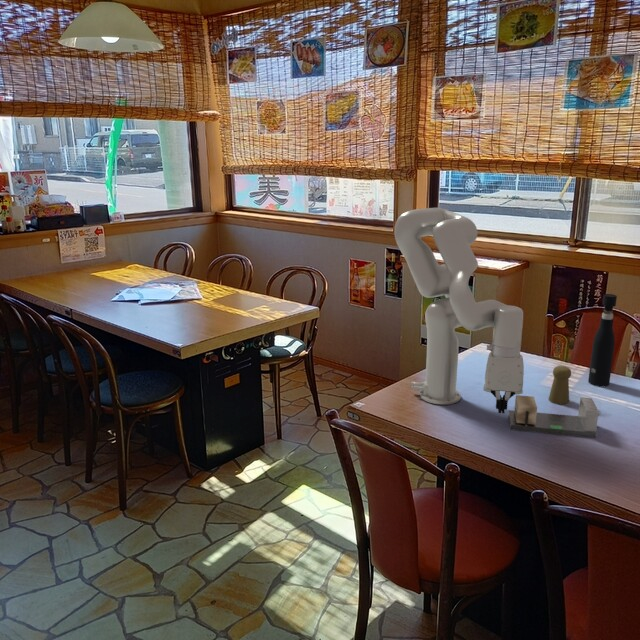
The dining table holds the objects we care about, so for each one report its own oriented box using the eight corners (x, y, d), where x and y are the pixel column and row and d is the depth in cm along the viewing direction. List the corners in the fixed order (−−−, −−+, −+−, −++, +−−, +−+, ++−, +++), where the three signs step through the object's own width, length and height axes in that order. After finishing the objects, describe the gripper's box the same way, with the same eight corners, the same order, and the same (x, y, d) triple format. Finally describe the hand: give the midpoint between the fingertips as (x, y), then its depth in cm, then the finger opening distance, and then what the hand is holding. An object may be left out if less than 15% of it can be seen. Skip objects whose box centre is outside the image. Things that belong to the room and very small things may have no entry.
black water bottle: (610, 381, 201) (622, 294, 193) (607, 388, 196) (620, 298, 188) (589, 378, 205) (600, 292, 196) (586, 384, 199) (597, 296, 191)
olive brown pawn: (571, 405, 183) (575, 371, 180) (550, 403, 184) (553, 370, 181) (567, 397, 189) (571, 364, 186) (547, 396, 190) (550, 363, 187)
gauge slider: (516, 424, 167) (518, 407, 165) (514, 411, 175) (515, 395, 174) (535, 426, 166) (537, 409, 164) (532, 412, 174) (534, 396, 173)
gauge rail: (510, 429, 168) (513, 405, 166) (508, 414, 177) (510, 391, 175) (595, 437, 163) (599, 412, 161) (588, 421, 172) (591, 397, 170)
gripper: (478, 352, 165) (474, 414, 170) (535, 356, 162) (529, 419, 167) (477, 344, 172) (474, 403, 177) (533, 347, 169) (527, 408, 174)
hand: (501, 411), depth 172 cm, fingers closed
